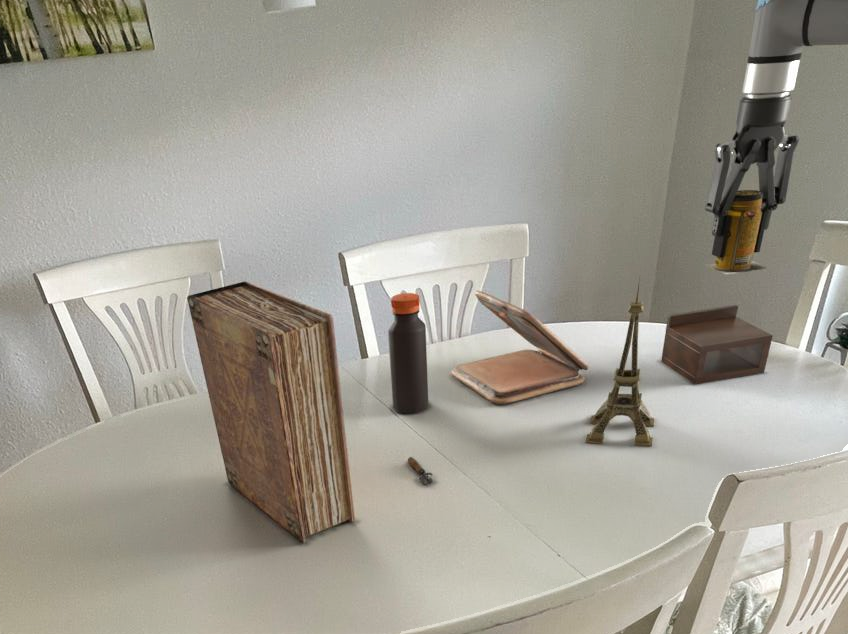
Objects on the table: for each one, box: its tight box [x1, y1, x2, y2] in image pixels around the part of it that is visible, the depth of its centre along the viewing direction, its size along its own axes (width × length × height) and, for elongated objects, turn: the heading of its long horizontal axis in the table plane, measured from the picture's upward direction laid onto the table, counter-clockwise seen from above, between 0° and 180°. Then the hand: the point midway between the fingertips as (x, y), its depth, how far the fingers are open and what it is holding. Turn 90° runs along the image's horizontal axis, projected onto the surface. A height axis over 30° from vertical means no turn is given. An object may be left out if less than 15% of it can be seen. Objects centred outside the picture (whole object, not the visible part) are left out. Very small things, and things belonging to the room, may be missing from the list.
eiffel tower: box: [585, 276, 655, 447], centre depth 125 cm, size 11×11×25 cm
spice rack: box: [660, 304, 774, 385], centre depth 148 cm, size 13×14×9 cm
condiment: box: [705, 189, 771, 275], centre depth 135 cm, size 7×8×12 cm
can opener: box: [407, 456, 433, 485], centre depth 127 cm, size 9×2×1 cm, turn 14°
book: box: [186, 281, 356, 545], centre depth 114 cm, size 25×9×30 cm, turn 34°
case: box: [451, 290, 590, 405], centre depth 149 cm, size 20×21×16 cm
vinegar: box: [387, 292, 429, 415], centre depth 142 cm, size 7×7×20 cm
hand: (735, 253), depth 138 cm, fingers closed on condiment, 6 cm apart
